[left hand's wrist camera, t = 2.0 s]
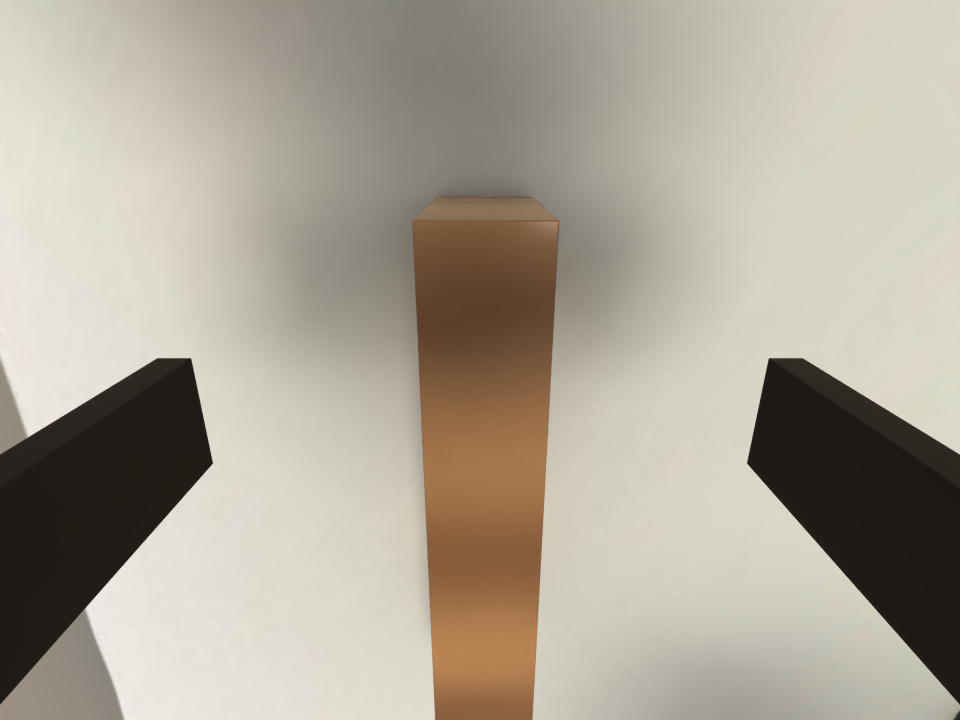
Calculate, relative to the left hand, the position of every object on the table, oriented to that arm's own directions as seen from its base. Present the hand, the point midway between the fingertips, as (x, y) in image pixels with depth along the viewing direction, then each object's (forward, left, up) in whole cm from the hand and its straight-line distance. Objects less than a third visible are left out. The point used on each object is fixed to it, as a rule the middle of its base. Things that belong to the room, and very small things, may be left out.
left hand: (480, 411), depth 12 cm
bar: (+10, 0, -15) cm, 18 cm away
